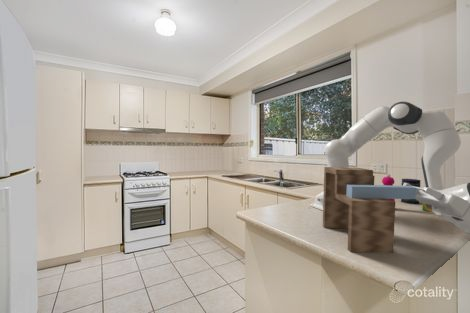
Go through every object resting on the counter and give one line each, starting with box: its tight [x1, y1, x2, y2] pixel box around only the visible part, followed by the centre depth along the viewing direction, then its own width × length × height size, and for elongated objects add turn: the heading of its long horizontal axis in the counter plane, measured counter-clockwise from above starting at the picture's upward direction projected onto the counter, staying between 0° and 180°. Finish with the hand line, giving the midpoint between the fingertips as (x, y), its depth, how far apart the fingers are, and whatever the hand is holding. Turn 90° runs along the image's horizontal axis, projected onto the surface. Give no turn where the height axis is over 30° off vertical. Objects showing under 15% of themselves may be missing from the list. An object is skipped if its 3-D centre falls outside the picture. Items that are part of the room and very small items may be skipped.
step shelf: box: [322, 166, 396, 254], centre depth 88 cm, size 14×25×26 cm, turn 179°
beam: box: [346, 184, 416, 200], centre depth 82 cm, size 22×4×4 cm, turn 89°
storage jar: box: [400, 178, 421, 205], centre depth 150 cm, size 10×10×15 cm
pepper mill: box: [381, 173, 396, 202], centre depth 134 cm, size 7×7×20 cm
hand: (414, 186), depth 82 cm, fingers open, 8 cm apart
